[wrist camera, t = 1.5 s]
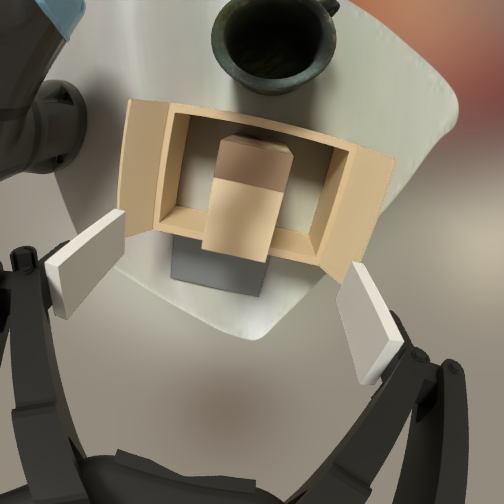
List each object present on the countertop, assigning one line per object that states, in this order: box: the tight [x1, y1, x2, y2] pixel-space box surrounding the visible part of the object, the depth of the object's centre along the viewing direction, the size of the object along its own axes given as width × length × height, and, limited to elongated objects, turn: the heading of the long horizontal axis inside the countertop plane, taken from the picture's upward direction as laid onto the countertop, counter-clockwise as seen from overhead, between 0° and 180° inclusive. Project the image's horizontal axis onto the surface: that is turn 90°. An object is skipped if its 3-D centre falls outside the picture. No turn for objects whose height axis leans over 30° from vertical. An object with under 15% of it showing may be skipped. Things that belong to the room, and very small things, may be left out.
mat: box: [170, 234, 270, 297], centre depth 43 cm, size 14×10×1 cm
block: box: [201, 132, 294, 263], centre depth 31 cm, size 6×10×14 cm, turn 167°
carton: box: [117, 99, 397, 285], centre depth 32 cm, size 26×15×12 cm, turn 78°
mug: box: [211, 0, 340, 96], centre depth 25 cm, size 11×15×12 cm
